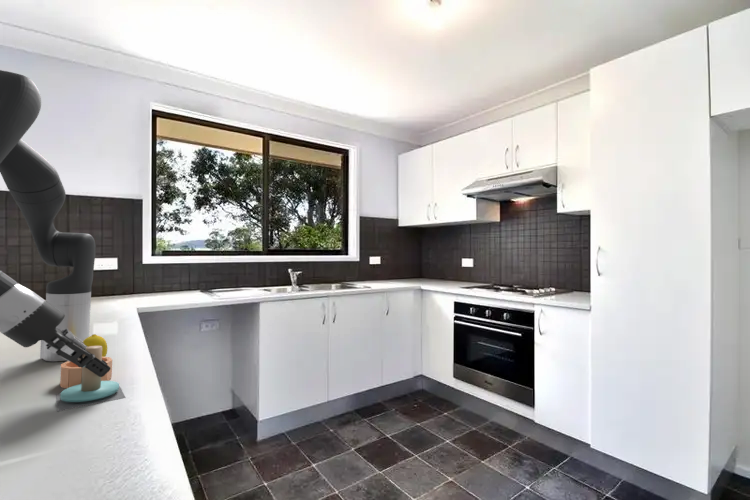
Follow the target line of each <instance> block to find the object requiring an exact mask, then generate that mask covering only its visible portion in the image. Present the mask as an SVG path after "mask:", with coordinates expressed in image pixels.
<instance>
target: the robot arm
mask: <svg viewBox="0 0 750 500" xmlns="http://www.w3.org/2000/svg"><path fill="white" fill-rule="evenodd" d="M41 109H42V96H41V93H40V90H39V88H38V87H37V85H36V83H35V82H34V81H33V80H32V79H31V78H29V77H28V76H25V75H23V74H20V73H16V72H11V71H7V70H2V69H0V175H1V177H2V179H3V182H4V183H5V185H6V188H7V189H8V191H9V193H10V195H11V197H12V198H13V200H14V201H15V204H16V205H17V206H18V208H19V211H20V212H21V214H22V217H24V218H23V219H24V220H25V222H26V224H27V226H28V228H29V231H30V234H31V236H32V239H33V242H34V244H35V247H36V250H37V252H38V255H39V257H40V259H41V260H42V261H43V262H44V263H45V264H46V265H47V266H49V267H57V268H59V267H60V268H73V269H72V272H71V273H70V274H68V275H66V276H64V277H61V278H58V279H55V280H51V281H49V282H48V283H47V284H46V289H45V290H46V291H45V292H46V293H45V299H44V298H43V297H41V296H40V295H39V294H37V293H36V292H35V291H33V290H31V289H29V288H28V287H26V286H24V285H22V284H20V283H19V282H17V281H16V280H15V279H13V278H12V277H10V276H9V275H8V274H7V273H5V272H3V270H0V333H1V334H2V335H4V336H6V337H7V339H8V338H9V339H10V340H12V341H14V342H15V343H16V344H18V345H19V346H21V347H23V348H30V347H32V346H34V345H36V344H37V343H38V342H40V348H39V349H40V350H39V351H40V353H39V359H42V360H43V361H44V362H63V361H65V362H67V361H71V362H72V363H74V364H76V365H78V367H81V368H83V367H85V368H87V369H88V370H90V371H92V372H93V373H95V374H96V375H98V376H99V377H103V376H104V375H105V374H106V373H108V372H109V371H110V367H109V366H108V365H107V363H106V362H105V361H104V360H102V361H101V360H99V359H98V358H96V357H95V355H94V354H91V353H90V352H89V351H87V350H86V347H88V346H86V345H84V342H83V341H84V340H85V339H86V338H88V337H90V329H91V328H90V327H91V325H90V324H91V308H92V307H91V306H92V305H91V304H92V285H93V281H94V280H93V279H94V270H95V269H94V268H95V261H96V248H97V247H96V241H95V238H94V237H93V235H91V234H90V233H83V232H67V231H66V232H61V231H59V230H57V229H56V227H55V224H54V221H55V218H56V216H57V215H58V213H59V212H60V211H61V209H62V207H63V205H64V203H65V201H66V196H67V195H66V191H65V187H64V185H63V182H62V180H61V178H60V174H59V173H58V171H57V170H56V168H55V167H54V165H53V164H52V163H51V162H49V160H48V159H46V158H45V157H44V156H43V155H42V154H41V153H39V151H37V150H35V149H34V148H33V147H32V146H31V145H30V144H28V143H27V142H26V141H24V139H22V138H23V136H25V134H27V131H28V130H29V129H31V127H32V125H33V124H34V123H35V121H36V120H37V118H38V116H39V114H40V111H41ZM83 354H84V355H86V356H85V357H84V358H83Z"/></svg>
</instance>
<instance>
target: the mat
mask: <svg viewBox="0 0 750 500" xmlns="http://www.w3.org/2000/svg"><path fill="white" fill-rule="evenodd" d="M60 394H61V392H60V393H56V394H55V399H56V400H55V401H56V411H57V412H58V413H59V412H64V411H68V410H73V409H78V408H81V407H82V408H83V407H87V406H92V405H97V404H103V403H107V402H111V401H117V400H121V399H126V396H125V393H124V392H123V389H122V388H121V386H120V385H119V390H118V391H117V392H116V393H114V394H112V395H109V396H107V397H103V398H100V399H96V400H90V401H83V402H65V401H62V400H61V399H60Z"/></svg>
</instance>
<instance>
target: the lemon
mask: <svg viewBox="0 0 750 500" xmlns="http://www.w3.org/2000/svg"><path fill="white" fill-rule="evenodd" d="M83 342H84V345H86V346H88V347H89V346H102V357H107V354H108V343H107V341H106V340H105V338H104V337H102V336H101V335H98V334H95V333H94V334H92V335H89V337H88V338H86V339H85V340H84V341H83Z"/></svg>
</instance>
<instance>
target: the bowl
mask: <svg viewBox="0 0 750 500" xmlns="http://www.w3.org/2000/svg"><path fill="white" fill-rule="evenodd" d="M102 360H104V361H105V362H106V363H107V365H108V366H109V367H110V371H109V372H108V373H106V374H105V375H104V376H103V377H101V381H111V379H112V376H113V372H112V371H113V359H112V357H111V356H109V357H108V356H105V357H102ZM81 382H82V368H81V367H78V365H76V364H74V363H72V362H71V361H67V360H66V361H65V362H63V363H61V364H60V377H59V386H60V387H61V388H62V389H67V388H69V387H72V386H75V385H79V384H81Z"/></svg>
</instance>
